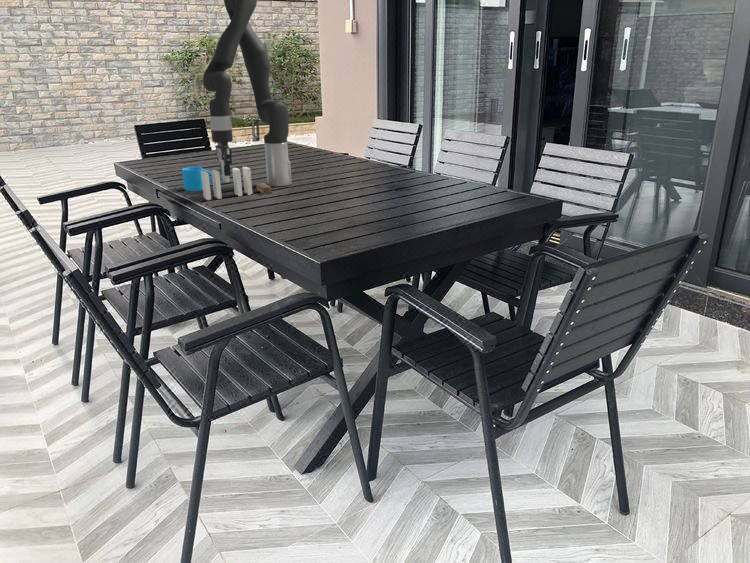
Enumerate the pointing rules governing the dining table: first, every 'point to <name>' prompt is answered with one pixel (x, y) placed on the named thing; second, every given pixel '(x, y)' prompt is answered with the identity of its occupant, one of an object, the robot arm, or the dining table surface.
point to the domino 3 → (224, 178)
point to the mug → (193, 178)
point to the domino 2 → (216, 184)
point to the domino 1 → (206, 185)
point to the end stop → (264, 188)
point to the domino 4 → (237, 181)
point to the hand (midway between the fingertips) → (225, 174)
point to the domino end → (247, 180)
